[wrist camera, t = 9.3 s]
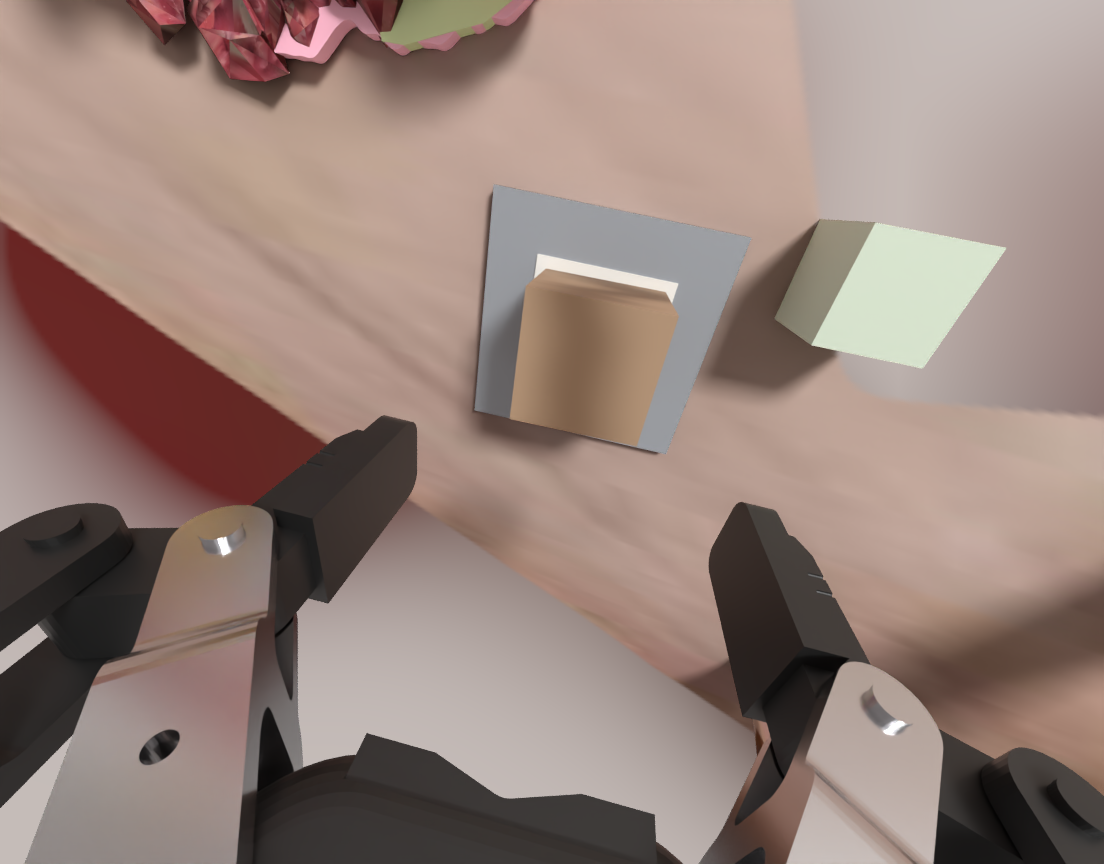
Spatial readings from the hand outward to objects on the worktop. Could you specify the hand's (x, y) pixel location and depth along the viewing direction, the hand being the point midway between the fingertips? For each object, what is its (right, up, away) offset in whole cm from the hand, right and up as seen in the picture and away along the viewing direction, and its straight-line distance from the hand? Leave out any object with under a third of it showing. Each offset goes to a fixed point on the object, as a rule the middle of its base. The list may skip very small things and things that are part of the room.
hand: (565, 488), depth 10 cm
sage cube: (+13, +9, +9) cm, 18 cm away
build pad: (+2, +7, +12) cm, 14 cm away
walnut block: (+2, +6, +11) cm, 13 cm away
